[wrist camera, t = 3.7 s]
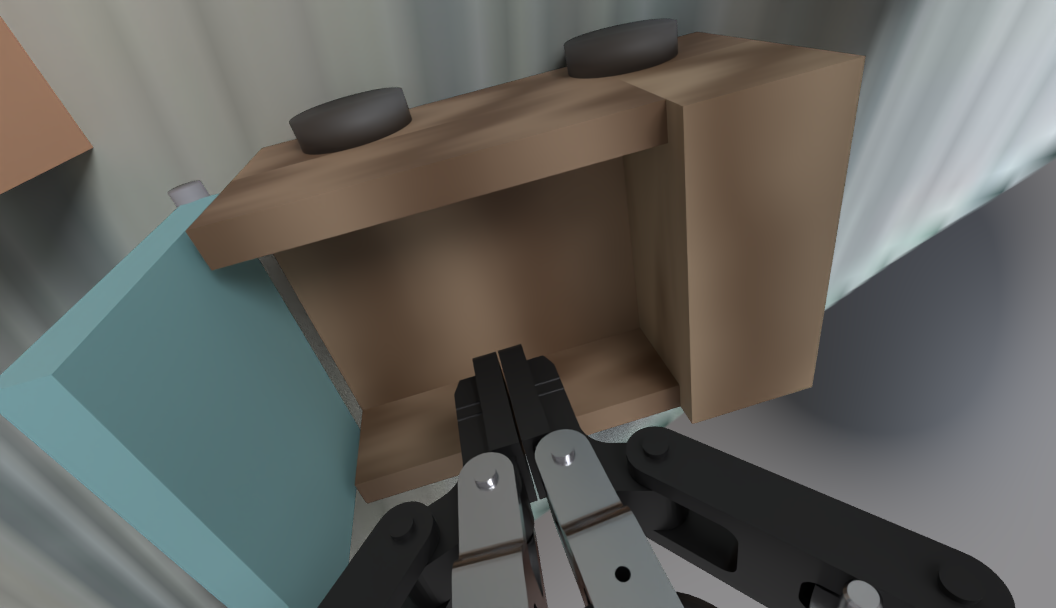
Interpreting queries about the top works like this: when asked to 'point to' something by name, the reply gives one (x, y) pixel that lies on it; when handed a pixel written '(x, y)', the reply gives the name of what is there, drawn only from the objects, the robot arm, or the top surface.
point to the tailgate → (199, 418)
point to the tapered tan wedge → (31, 119)
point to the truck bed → (561, 234)
